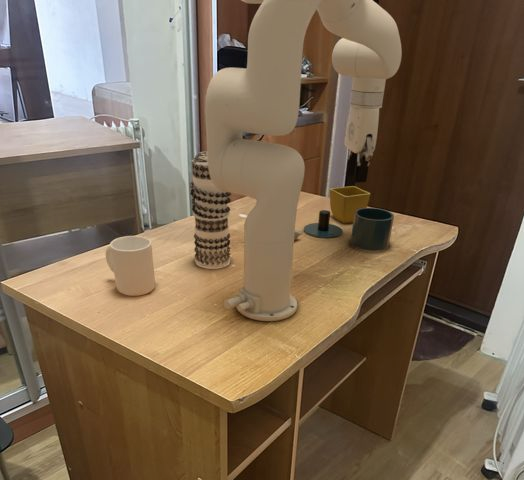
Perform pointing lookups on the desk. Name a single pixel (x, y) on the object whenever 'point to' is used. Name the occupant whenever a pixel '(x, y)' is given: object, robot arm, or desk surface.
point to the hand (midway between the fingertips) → (355, 178)
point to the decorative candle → (209, 217)
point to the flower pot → (347, 202)
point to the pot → (371, 229)
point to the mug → (132, 265)
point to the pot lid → (323, 227)
